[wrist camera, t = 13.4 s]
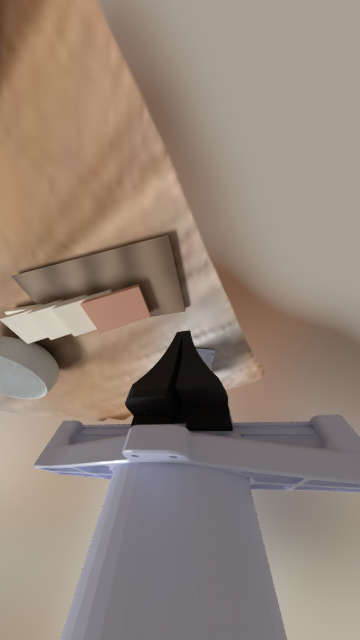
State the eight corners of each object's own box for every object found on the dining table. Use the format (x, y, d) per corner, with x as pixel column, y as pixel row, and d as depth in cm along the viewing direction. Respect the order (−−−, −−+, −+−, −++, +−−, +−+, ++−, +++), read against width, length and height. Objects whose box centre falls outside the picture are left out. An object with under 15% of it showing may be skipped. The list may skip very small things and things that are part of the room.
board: (169, 234, 17) (168, 234, 16) (185, 308, 23) (185, 311, 22) (18, 274, 21) (11, 276, 20) (64, 328, 27) (60, 331, 26)
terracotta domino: (138, 286, 18) (79, 304, 17) (150, 316, 21) (100, 333, 20) (138, 284, 20) (83, 300, 19) (149, 312, 22) (102, 328, 21)
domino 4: (109, 292, 19) (51, 309, 18) (124, 320, 22) (74, 336, 20) (111, 289, 20) (57, 305, 19) (125, 315, 23) (78, 331, 22)
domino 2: (58, 302, 21) (-1, 319, 19) (77, 327, 23) (27, 344, 22) (62, 299, 22) (8, 314, 20) (80, 323, 24) (33, 338, 23)
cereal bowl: (60, 380, 38) (37, 407, 32) (-9, 351, 33) (-52, 377, 27) (80, 353, 31) (55, 381, 25) (-3, 310, 25) (-62, 333, 19)
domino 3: (83, 297, 20) (25, 314, 19) (100, 323, 22) (50, 340, 21) (86, 294, 21) (32, 309, 20) (102, 319, 24) (55, 334, 23)
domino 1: (31, 308, 21) (4, 312, 23) (53, 332, 24) (26, 333, 26) (42, 303, 22) (14, 307, 25) (61, 326, 25) (35, 328, 27)
